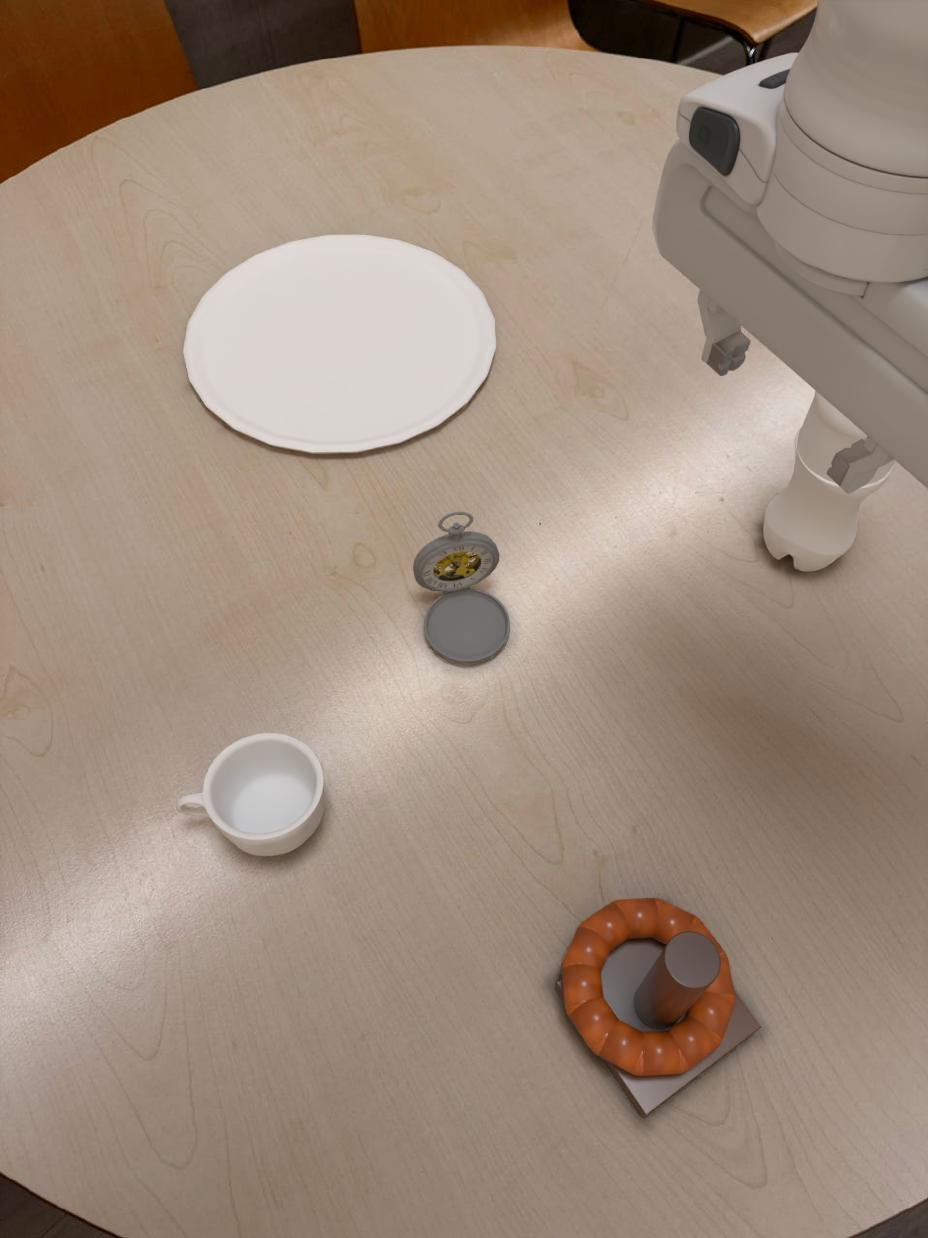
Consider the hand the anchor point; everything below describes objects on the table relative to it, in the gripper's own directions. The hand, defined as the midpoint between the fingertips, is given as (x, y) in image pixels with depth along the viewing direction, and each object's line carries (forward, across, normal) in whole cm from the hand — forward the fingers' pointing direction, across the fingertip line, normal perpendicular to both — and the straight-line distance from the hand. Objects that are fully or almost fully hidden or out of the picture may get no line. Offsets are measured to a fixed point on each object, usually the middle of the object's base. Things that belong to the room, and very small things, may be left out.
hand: (781, 419), depth 52 cm
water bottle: (+29, +5, -17) cm, 34 cm away
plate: (+29, +46, +3) cm, 55 cm away
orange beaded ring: (+26, -16, +16) cm, 35 cm away
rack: (+29, -17, +16) cm, 37 cm away
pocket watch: (+29, +14, +10) cm, 34 cm away
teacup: (+29, +8, +31) cm, 43 cm away
